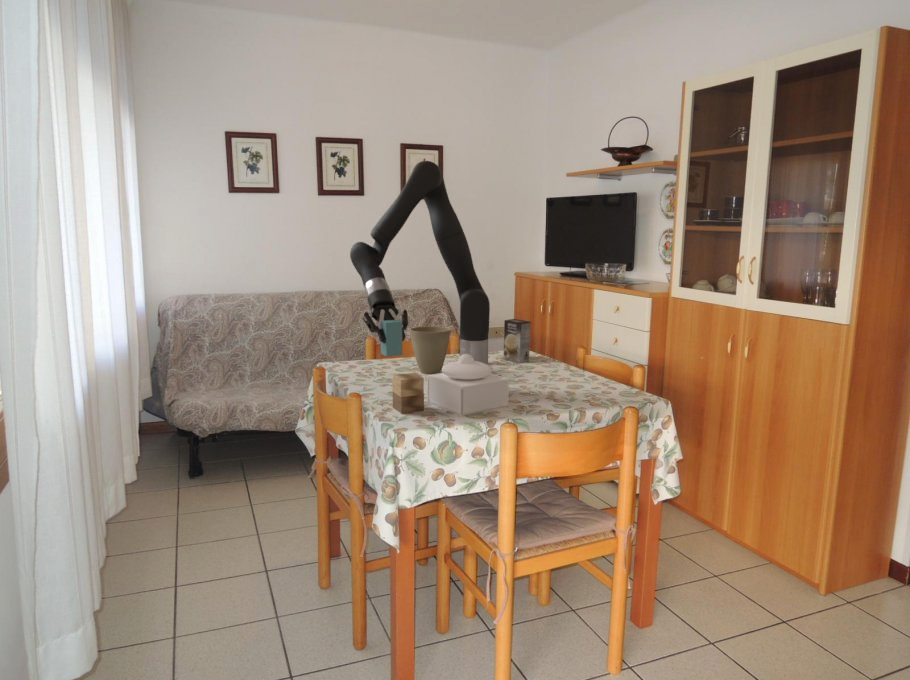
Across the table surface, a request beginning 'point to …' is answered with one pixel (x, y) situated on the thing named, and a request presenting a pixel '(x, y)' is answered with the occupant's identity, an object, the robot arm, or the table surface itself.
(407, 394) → the oak block
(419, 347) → the plant pot
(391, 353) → the teal pillar
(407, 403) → the walnut block
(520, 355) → the coffee box
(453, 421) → the table surface
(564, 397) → the table surface
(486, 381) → the butter dish
